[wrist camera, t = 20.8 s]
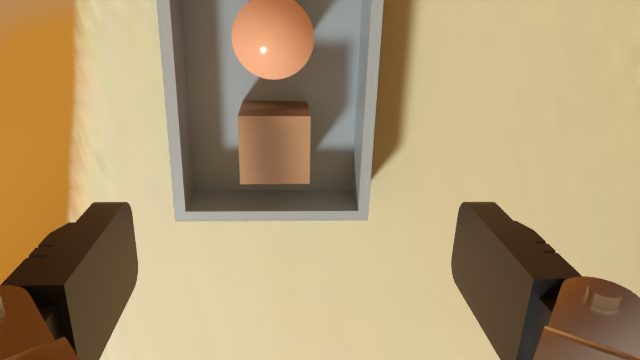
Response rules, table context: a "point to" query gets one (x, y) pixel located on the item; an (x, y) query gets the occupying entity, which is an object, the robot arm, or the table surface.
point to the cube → (274, 142)
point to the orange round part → (272, 38)
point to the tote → (241, 85)
